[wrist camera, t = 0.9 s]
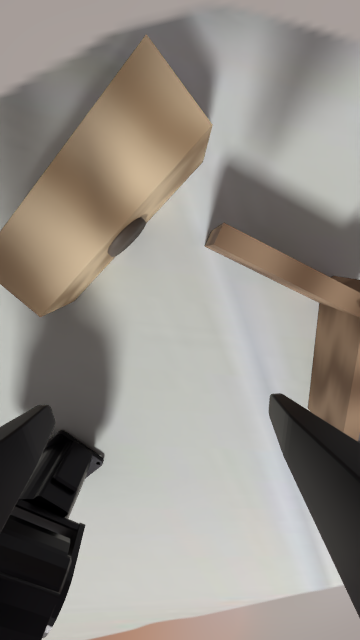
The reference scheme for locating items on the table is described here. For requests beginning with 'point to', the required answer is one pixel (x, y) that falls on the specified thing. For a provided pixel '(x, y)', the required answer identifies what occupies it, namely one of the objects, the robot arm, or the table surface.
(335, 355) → the v block
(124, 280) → the table surface
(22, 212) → the beam
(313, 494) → the robot arm
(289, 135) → the table surface
